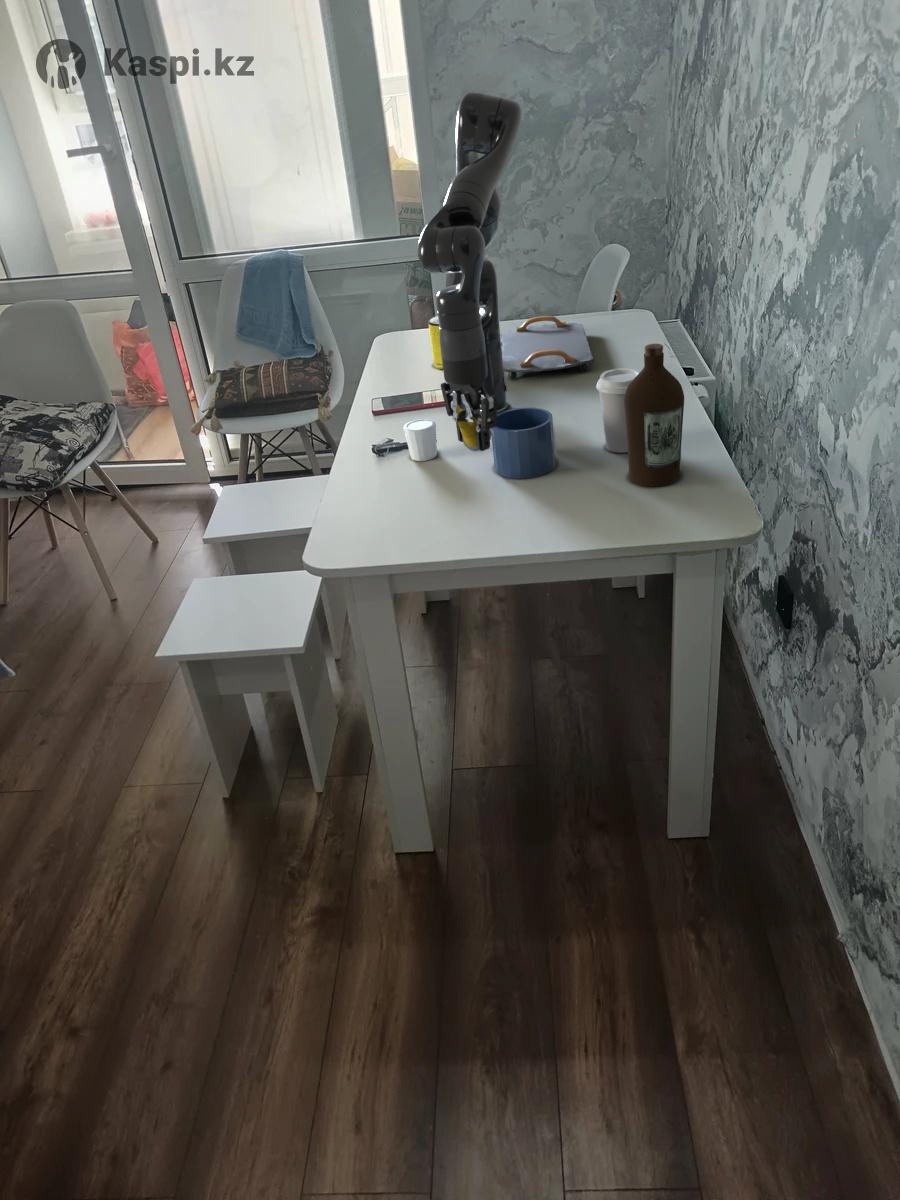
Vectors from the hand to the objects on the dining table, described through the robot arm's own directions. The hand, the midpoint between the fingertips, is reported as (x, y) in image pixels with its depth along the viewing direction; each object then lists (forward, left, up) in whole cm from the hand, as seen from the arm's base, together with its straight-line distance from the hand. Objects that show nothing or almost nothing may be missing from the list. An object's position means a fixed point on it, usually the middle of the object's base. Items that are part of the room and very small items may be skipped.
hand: (474, 444), depth 162 cm
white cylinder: (-31, +7, -14) cm, 34 cm away
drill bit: (+1, 0, -1) cm, 1 cm away
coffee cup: (-2, +37, -14) cm, 39 cm away
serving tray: (-61, +65, -14) cm, 90 cm away
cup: (-10, +18, -13) cm, 24 cm away
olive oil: (+13, +31, -14) cm, 36 cm away
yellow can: (-78, +46, -14) cm, 91 cm away
